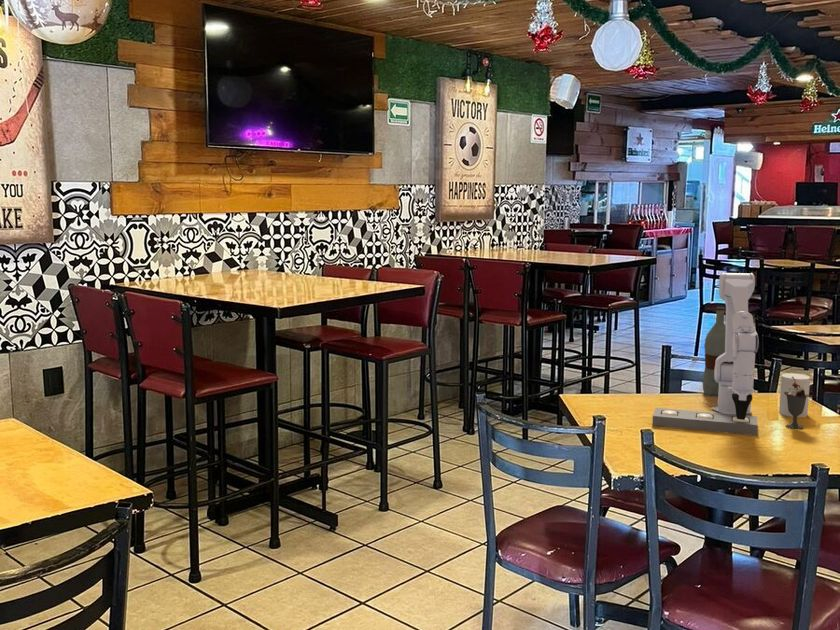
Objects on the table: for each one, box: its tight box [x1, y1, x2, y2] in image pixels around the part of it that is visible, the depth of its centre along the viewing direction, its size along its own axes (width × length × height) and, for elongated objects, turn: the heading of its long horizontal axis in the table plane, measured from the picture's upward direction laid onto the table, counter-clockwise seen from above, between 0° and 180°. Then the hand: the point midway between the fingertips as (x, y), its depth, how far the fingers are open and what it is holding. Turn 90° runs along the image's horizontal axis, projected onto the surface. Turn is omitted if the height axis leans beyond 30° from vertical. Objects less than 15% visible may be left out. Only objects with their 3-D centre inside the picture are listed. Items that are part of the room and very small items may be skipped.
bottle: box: [702, 306, 731, 397], centre depth 284 cm, size 9×9×30 cm
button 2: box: [733, 417, 749, 422], centre depth 244 cm, size 4×4×3 cm
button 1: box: [662, 410, 677, 416], centre depth 251 cm, size 4×4×3 cm
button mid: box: [697, 414, 713, 419], centre depth 247 cm, size 4×4×3 cm
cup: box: [778, 372, 811, 418], centre depth 260 cm, size 8×8×12 cm
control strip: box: [652, 407, 759, 436], centre depth 247 cm, size 10×29×3 cm, turn 70°
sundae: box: [784, 377, 810, 430], centre depth 245 cm, size 7×7×15 cm
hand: (740, 418), depth 244 cm, fingers closed, pressing on button 2
